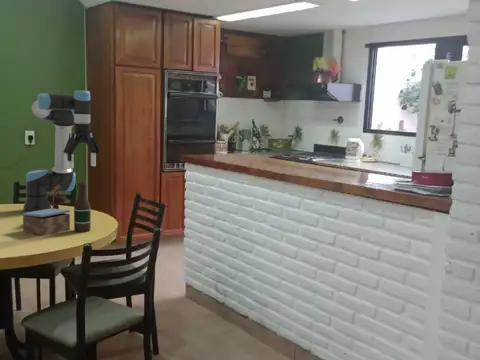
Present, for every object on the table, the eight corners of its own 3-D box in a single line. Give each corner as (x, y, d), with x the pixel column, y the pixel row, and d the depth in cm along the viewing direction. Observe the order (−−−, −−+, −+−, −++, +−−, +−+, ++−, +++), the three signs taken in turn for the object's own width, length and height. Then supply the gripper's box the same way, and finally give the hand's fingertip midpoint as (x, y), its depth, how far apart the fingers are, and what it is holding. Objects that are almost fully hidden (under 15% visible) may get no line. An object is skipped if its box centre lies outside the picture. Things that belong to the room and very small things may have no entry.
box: (51, 225, 255) (51, 210, 254) (69, 230, 248) (69, 214, 247) (23, 231, 242) (23, 215, 241) (42, 236, 235) (41, 219, 234)
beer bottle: (84, 233, 243) (83, 184, 240) (70, 231, 246) (70, 183, 242) (93, 229, 250) (93, 182, 247) (81, 228, 253) (80, 181, 250)
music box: (65, 224, 259) (64, 186, 256) (42, 225, 256) (41, 186, 253) (67, 218, 273) (66, 182, 270) (45, 218, 270) (45, 182, 268)
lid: (51, 210, 254) (51, 208, 254) (69, 212, 247) (69, 210, 247) (23, 215, 241) (22, 213, 241) (41, 217, 233) (41, 215, 233)
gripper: (96, 122, 253) (96, 164, 256) (55, 122, 232) (55, 168, 235) (107, 123, 249) (107, 165, 252) (66, 123, 228) (66, 169, 231)
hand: (82, 167), depth 243 cm, fingers open, 13 cm apart
